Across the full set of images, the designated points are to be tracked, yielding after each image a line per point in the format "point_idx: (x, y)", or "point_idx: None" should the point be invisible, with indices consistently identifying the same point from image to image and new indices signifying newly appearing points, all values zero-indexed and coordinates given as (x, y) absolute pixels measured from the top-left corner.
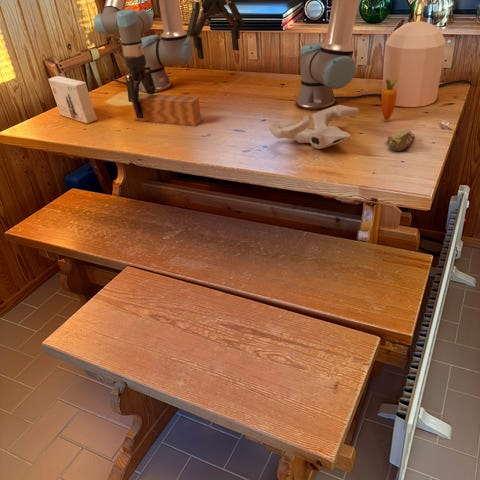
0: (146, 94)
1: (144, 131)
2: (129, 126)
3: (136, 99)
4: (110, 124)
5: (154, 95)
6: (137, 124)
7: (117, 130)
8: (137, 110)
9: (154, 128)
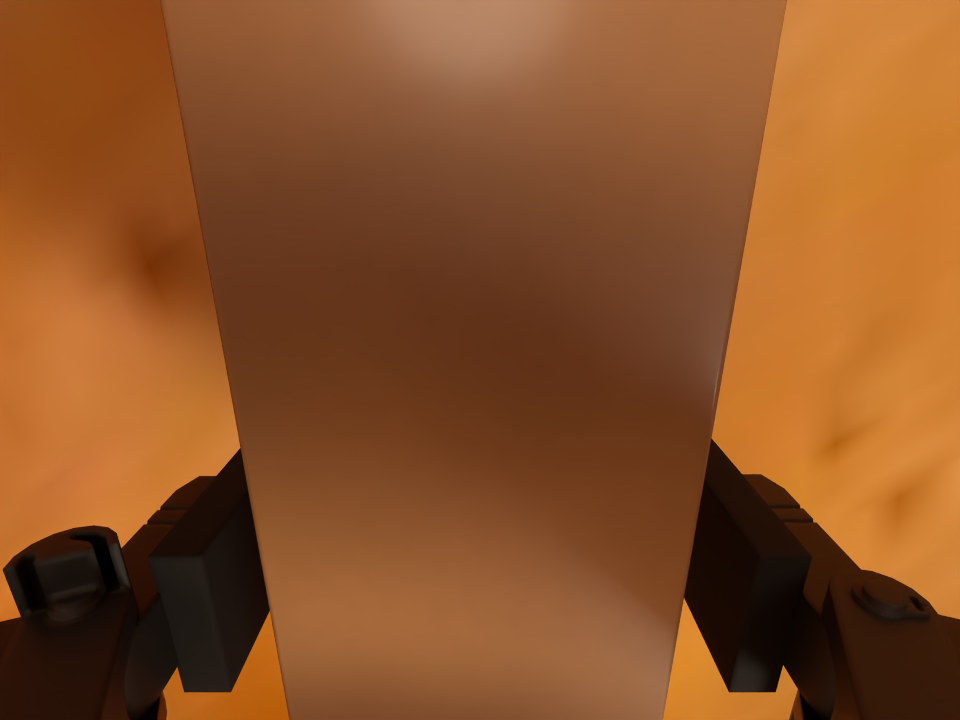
0: (322, 656)
1: (948, 151)
2: (761, 465)
3: (947, 649)
4: (713, 680)
5: (329, 369)
6: None
7: (890, 524)
8: (764, 484)
9: (828, 54)
